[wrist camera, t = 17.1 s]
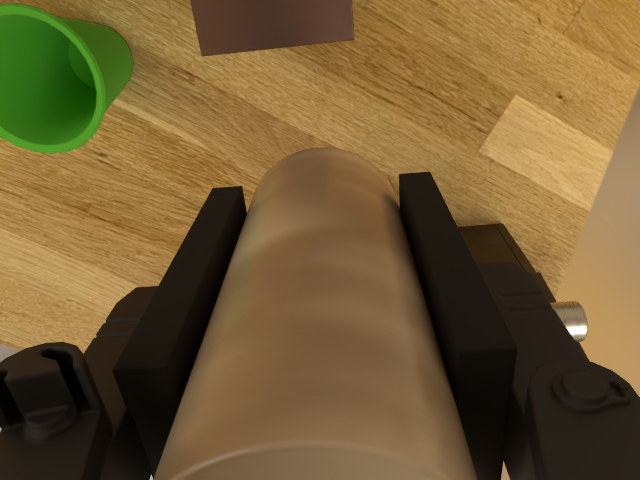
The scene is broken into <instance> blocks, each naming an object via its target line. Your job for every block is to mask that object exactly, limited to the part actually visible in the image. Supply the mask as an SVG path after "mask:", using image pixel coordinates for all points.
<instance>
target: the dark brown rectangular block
mask: <svg viewBox="0 0 640 480" xmlns="http://www.w3.org/2000/svg"><path fill="white" fill-rule="evenodd" d="M190 1H191V6H192V11H193V16H194V20H195V25H196V30H197V35H198V40H199V45H200V50H201V55H202V56H210V55H219V54H228V53H238V52H247V51H256V50H265V49H275V48H284V47H293V46H302V45H312V44H321V43H330V42H339V41H348V40H354V25H353V10H352V0H190Z"/></svg>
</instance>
